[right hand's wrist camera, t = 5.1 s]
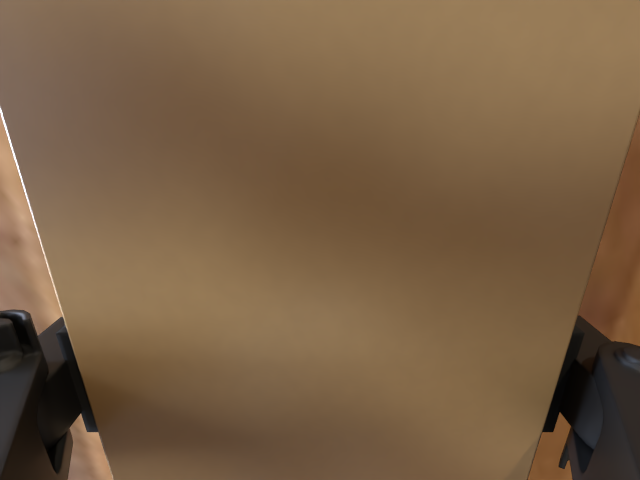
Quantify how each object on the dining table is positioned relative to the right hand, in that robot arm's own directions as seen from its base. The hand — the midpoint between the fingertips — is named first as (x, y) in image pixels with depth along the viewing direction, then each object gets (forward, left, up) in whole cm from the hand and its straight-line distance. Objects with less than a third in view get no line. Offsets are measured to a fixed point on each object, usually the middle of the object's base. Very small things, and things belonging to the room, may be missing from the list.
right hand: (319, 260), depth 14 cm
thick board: (+11, -32, -1) cm, 34 cm away
